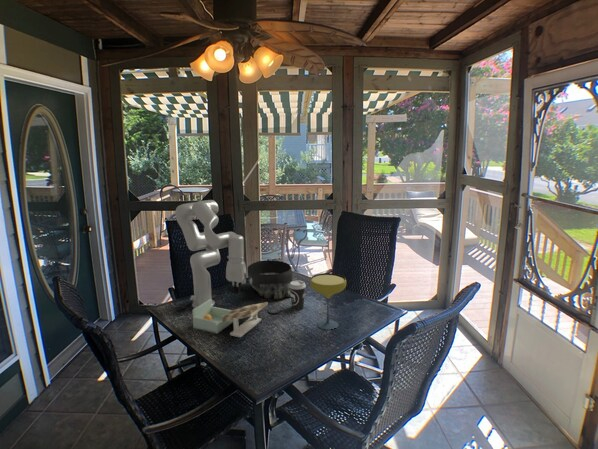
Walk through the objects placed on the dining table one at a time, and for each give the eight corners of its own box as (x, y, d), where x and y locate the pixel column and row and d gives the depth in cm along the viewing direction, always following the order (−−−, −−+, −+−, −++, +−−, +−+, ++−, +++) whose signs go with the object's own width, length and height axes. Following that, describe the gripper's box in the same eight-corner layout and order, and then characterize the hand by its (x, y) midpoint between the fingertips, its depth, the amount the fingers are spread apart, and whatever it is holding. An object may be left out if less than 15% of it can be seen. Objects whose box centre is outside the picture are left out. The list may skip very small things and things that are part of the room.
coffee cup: (304, 312, 210) (304, 286, 207) (287, 310, 212) (287, 285, 209) (307, 305, 219) (307, 280, 216) (291, 303, 221) (290, 279, 218)
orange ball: (207, 324, 196) (201, 321, 197) (212, 321, 199) (206, 318, 200) (208, 318, 194) (202, 315, 196) (213, 314, 198) (207, 311, 199)
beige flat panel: (222, 321, 188) (220, 316, 188) (240, 309, 203) (238, 304, 202) (251, 316, 180) (249, 311, 180) (268, 304, 194) (266, 298, 194)
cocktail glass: (336, 315, 206) (336, 271, 201) (351, 329, 190) (352, 282, 184) (305, 320, 200) (304, 275, 195) (318, 336, 183) (318, 287, 178)
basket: (245, 303, 224) (244, 276, 220) (249, 282, 258) (249, 259, 255) (293, 301, 225) (293, 275, 222) (291, 281, 259) (291, 258, 256)
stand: (230, 335, 185) (229, 318, 184) (251, 318, 203) (251, 303, 201) (240, 337, 183) (239, 320, 181) (261, 320, 201) (260, 304, 199)
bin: (193, 328, 193) (192, 309, 191) (211, 316, 206) (210, 299, 204) (217, 333, 187) (216, 314, 185) (234, 321, 200) (233, 303, 198)
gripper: (219, 259, 193) (220, 292, 197) (244, 263, 187) (245, 298, 191) (228, 255, 199) (229, 287, 204) (252, 259, 193) (253, 292, 198)
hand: (236, 292), depth 197 cm, fingers closed
